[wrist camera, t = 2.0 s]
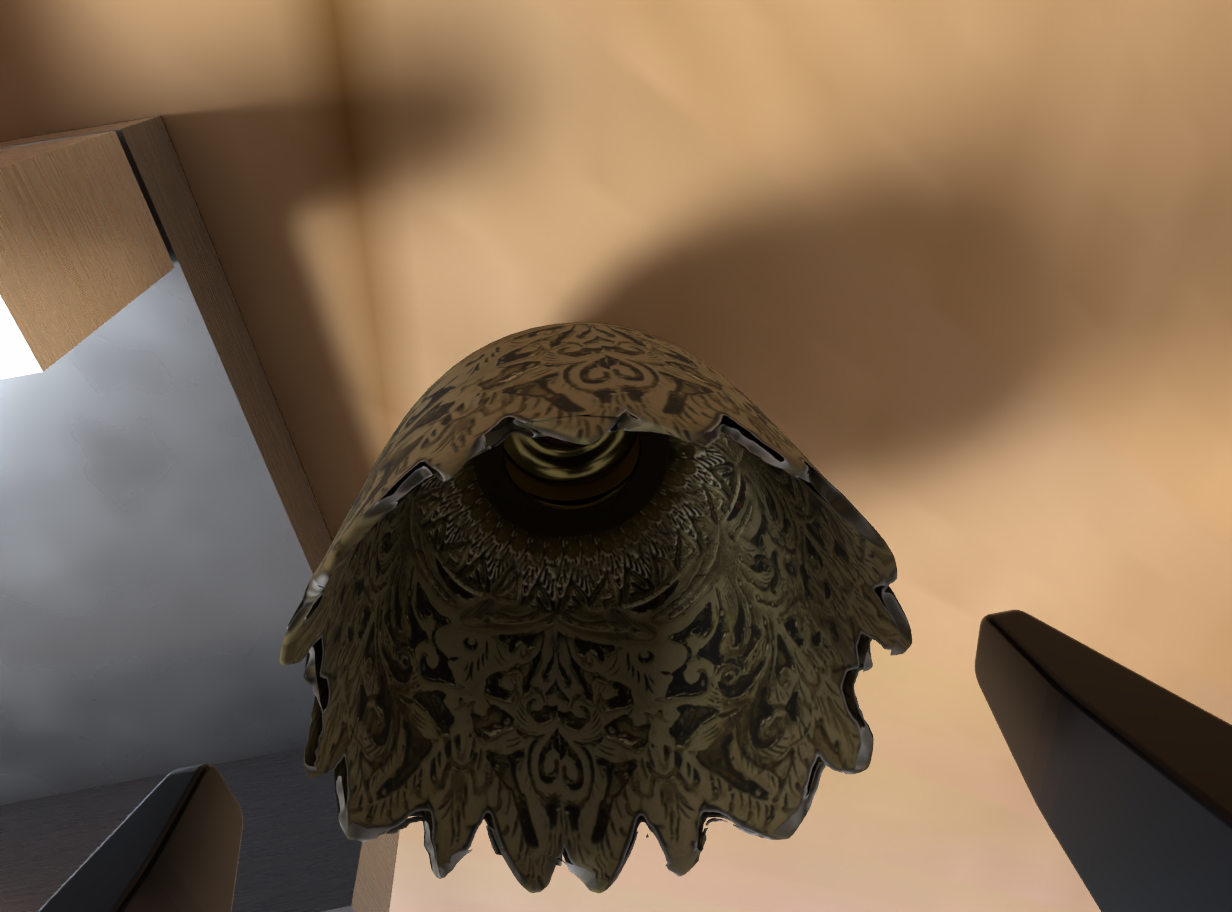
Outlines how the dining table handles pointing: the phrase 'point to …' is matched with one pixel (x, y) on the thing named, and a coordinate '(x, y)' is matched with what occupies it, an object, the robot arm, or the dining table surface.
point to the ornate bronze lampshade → (589, 614)
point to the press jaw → (69, 246)
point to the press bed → (161, 586)
